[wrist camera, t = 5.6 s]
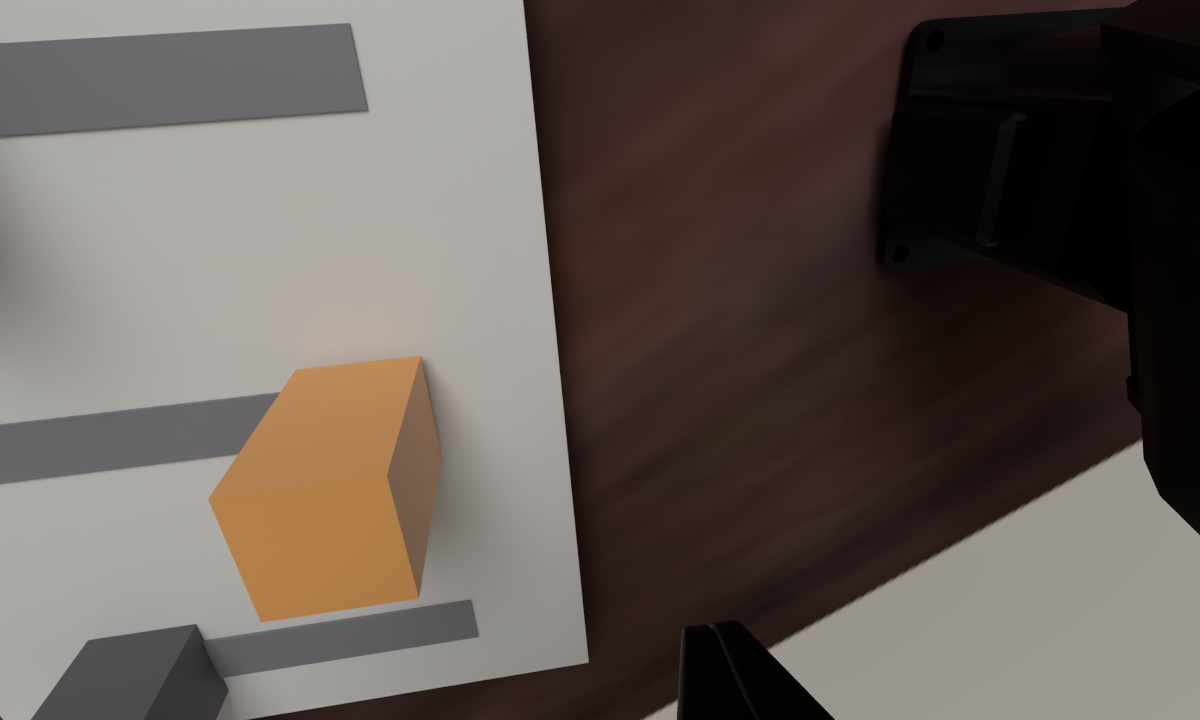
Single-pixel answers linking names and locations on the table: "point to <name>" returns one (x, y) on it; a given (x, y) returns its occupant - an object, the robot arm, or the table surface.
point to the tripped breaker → (334, 491)
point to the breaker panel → (266, 341)
